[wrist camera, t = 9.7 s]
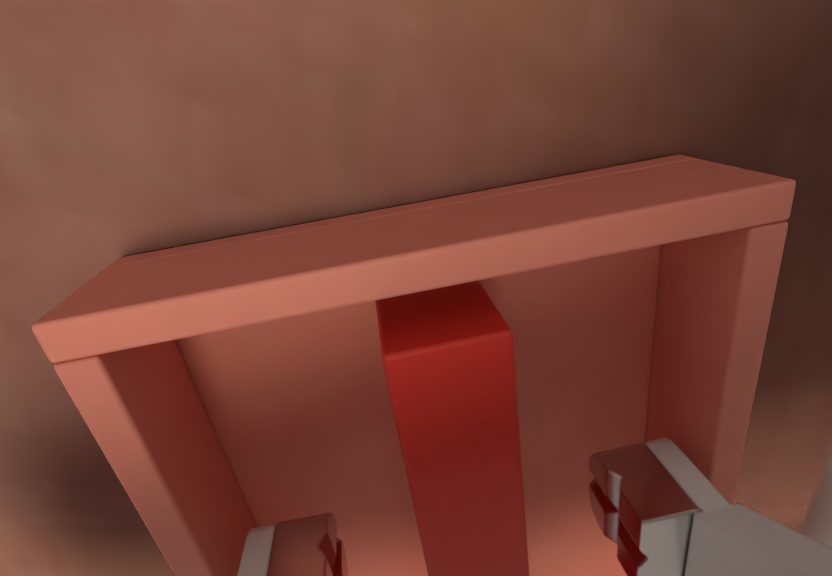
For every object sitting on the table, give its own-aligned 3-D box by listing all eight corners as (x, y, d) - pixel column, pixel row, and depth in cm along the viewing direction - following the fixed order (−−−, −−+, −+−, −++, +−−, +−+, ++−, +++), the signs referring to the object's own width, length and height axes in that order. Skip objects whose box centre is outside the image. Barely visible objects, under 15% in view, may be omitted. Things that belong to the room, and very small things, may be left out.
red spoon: (311, 295, 8) (298, 374, 6) (530, 254, 8) (593, 315, 6) (417, 683, 14) (430, 797, 11) (548, 651, 14) (585, 758, 12)
